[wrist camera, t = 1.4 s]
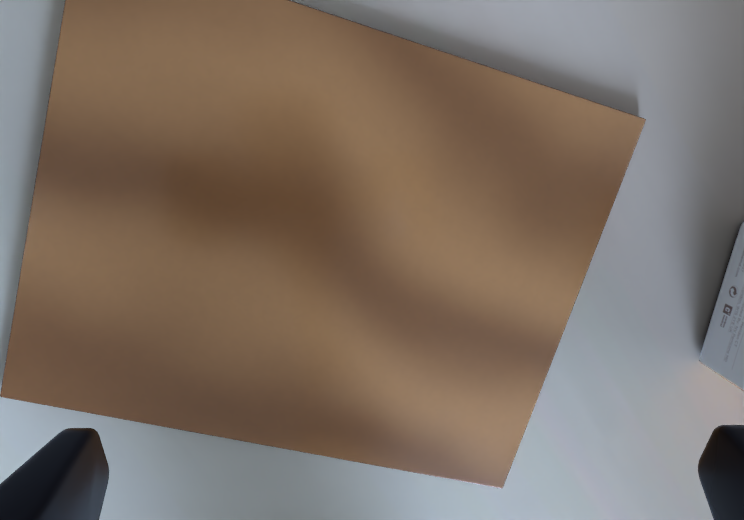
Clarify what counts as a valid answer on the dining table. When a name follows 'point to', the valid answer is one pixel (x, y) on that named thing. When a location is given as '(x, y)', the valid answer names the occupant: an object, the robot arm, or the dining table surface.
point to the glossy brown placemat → (305, 234)
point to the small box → (728, 322)
